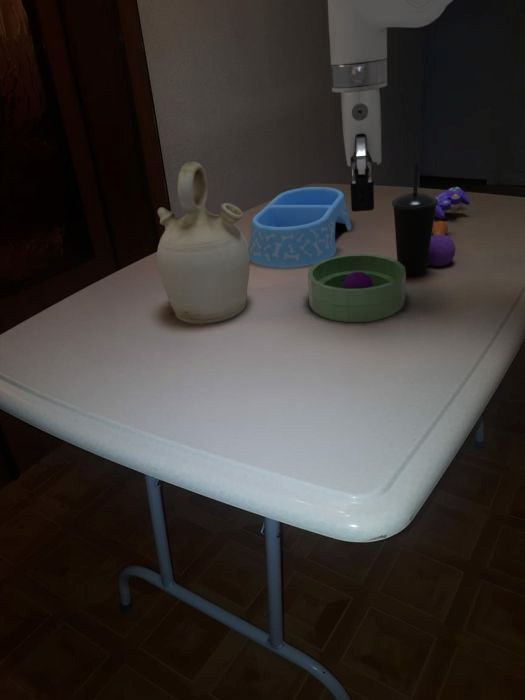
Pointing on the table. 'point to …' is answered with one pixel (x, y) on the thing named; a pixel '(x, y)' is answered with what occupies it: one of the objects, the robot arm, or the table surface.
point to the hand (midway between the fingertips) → (362, 201)
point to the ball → (357, 281)
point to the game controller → (450, 201)
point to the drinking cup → (414, 228)
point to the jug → (202, 254)
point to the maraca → (440, 246)
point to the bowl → (356, 302)
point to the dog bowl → (298, 227)
